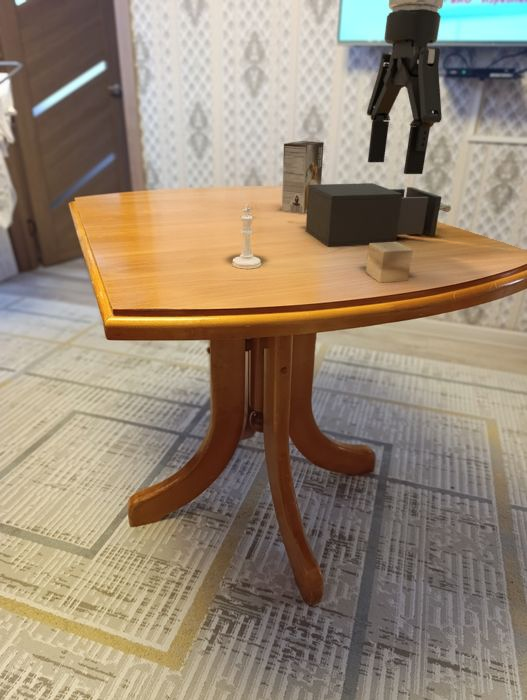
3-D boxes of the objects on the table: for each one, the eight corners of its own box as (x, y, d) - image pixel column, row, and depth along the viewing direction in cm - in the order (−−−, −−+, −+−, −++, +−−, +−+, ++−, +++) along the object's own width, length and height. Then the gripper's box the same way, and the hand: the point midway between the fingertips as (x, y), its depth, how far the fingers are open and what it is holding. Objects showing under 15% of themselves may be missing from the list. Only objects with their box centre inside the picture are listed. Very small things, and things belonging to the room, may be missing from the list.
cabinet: (367, 228, 113) (372, 183, 108) (395, 243, 102) (402, 193, 98) (305, 231, 109) (308, 184, 105) (327, 246, 98) (332, 195, 94)
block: (392, 270, 86) (396, 241, 84) (407, 280, 82) (412, 249, 79) (365, 272, 85) (369, 243, 82) (379, 282, 80) (383, 251, 78)
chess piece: (226, 264, 87) (225, 204, 82) (246, 258, 90) (246, 200, 86) (247, 270, 84) (247, 209, 80) (266, 264, 87) (268, 205, 83)
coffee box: (297, 207, 131) (300, 140, 124) (320, 210, 129) (324, 142, 121) (280, 213, 124) (283, 142, 117) (304, 216, 121) (308, 144, 114)
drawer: (423, 222, 115) (429, 186, 112) (452, 234, 105) (460, 196, 102) (351, 225, 111) (355, 188, 107) (375, 238, 101) (380, 198, 97)
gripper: (356, 19, 83) (343, 158, 92) (435, -4, 61) (407, 179, 71) (398, 22, 84) (381, 158, 94) (490, 0, 63) (455, 179, 72)
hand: (393, 167), depth 82 cm, fingers open, 13 cm apart
